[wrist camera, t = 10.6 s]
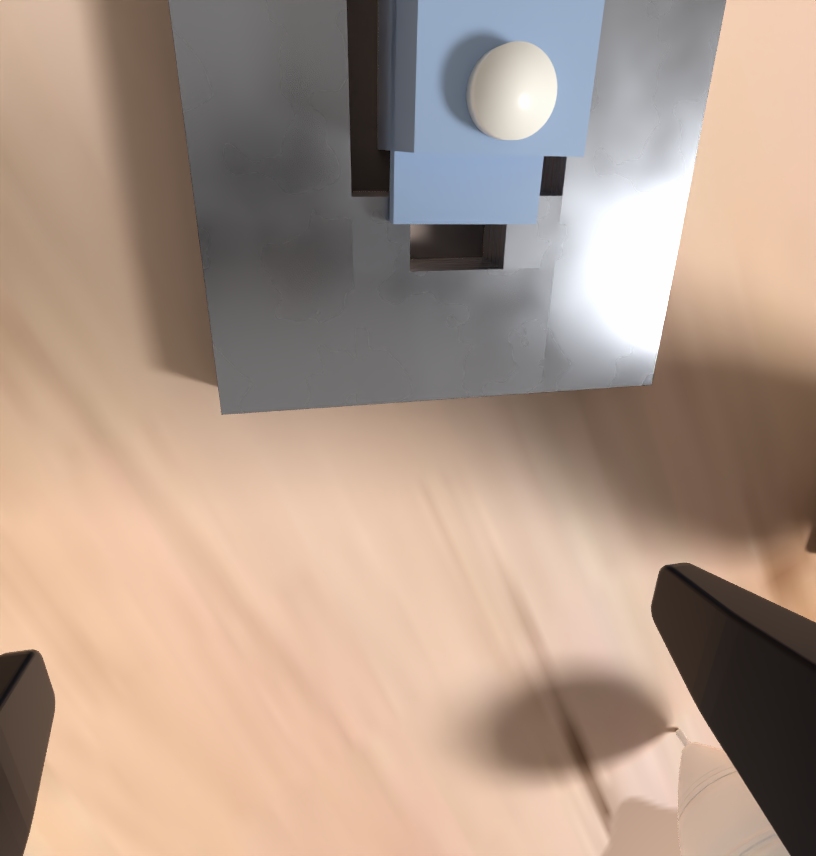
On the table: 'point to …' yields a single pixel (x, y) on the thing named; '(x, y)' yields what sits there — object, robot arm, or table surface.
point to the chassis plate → (390, 243)
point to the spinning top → (719, 808)
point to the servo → (481, 102)
